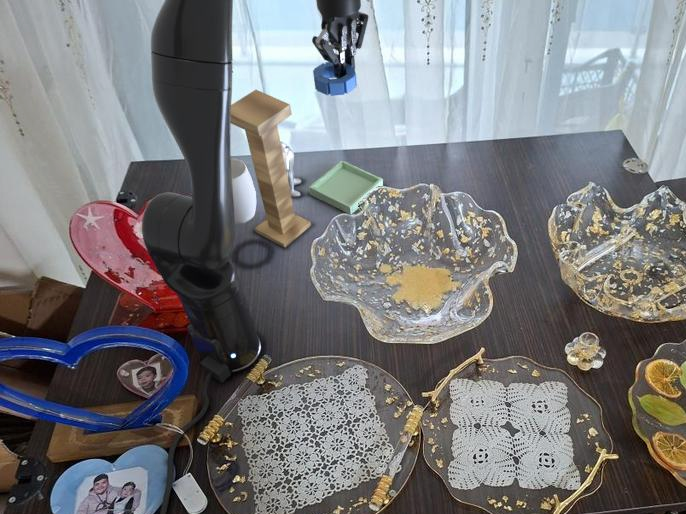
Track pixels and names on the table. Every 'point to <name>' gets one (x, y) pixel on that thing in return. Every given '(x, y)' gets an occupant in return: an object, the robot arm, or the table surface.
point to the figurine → (290, 169)
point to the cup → (242, 192)
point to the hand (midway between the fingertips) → (345, 76)
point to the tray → (344, 186)
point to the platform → (269, 164)
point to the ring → (334, 80)
